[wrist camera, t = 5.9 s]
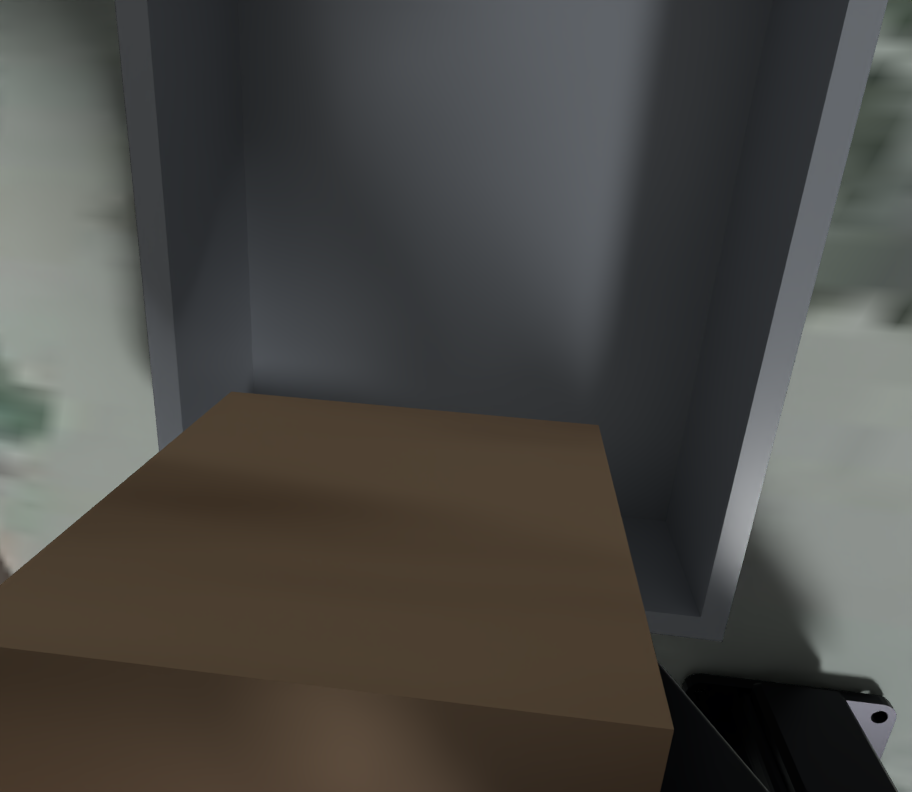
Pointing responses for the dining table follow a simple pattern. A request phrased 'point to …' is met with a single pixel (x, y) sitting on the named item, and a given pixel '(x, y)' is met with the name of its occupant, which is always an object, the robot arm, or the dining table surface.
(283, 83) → the tote
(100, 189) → the dining table surface
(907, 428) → the dining table surface
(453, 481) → the walnut block
